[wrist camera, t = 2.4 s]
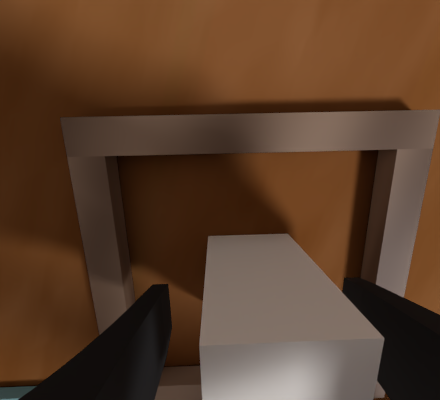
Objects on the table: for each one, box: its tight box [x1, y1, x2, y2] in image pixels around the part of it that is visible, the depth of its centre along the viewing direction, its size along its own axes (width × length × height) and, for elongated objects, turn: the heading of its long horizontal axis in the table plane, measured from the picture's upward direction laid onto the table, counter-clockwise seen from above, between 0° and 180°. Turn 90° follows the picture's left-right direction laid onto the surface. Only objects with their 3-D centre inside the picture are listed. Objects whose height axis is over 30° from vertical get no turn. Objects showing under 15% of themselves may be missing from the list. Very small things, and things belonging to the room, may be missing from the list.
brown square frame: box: [60, 110, 440, 400], centre depth 10 cm, size 15×15×1 cm
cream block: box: [199, 234, 384, 400], centre depth 8 cm, size 4×4×6 cm
